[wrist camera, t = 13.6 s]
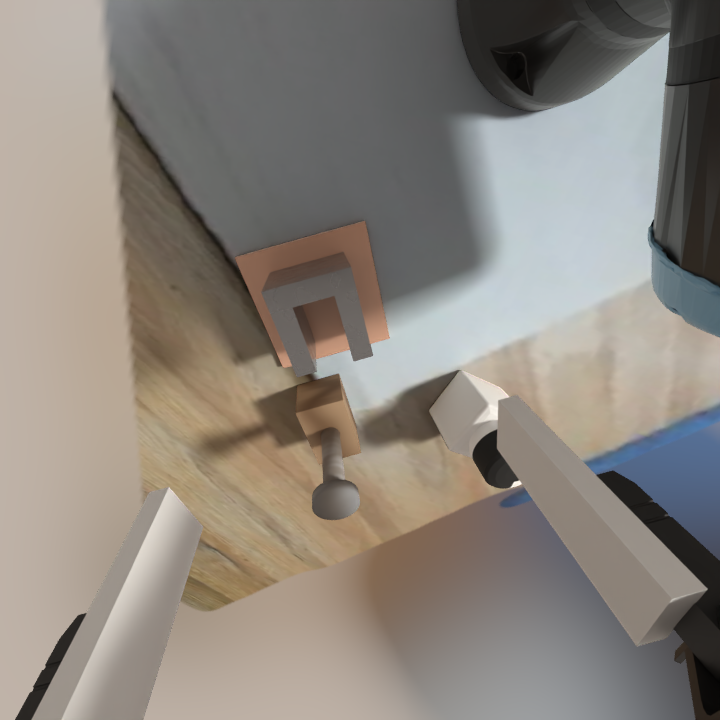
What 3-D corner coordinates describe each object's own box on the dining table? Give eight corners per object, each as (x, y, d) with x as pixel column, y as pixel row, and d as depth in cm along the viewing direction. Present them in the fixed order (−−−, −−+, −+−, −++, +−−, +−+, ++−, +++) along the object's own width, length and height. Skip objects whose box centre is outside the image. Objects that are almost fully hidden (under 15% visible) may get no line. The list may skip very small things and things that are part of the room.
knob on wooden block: (339, 373, 35) (353, 466, 24) (355, 423, 39) (374, 523, 28) (297, 385, 35) (291, 484, 24) (318, 434, 39) (321, 538, 28)
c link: (269, 272, 28) (261, 292, 23) (343, 251, 28) (351, 267, 23) (299, 346, 32) (296, 377, 27) (363, 328, 32) (373, 355, 27)
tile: (364, 220, 28) (365, 221, 27) (388, 336, 34) (389, 338, 33) (236, 256, 27) (234, 257, 27) (283, 365, 34) (283, 368, 33)
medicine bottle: (427, 410, 40) (467, 489, 30) (459, 368, 37) (516, 438, 27) (467, 425, 43) (518, 502, 32) (500, 386, 40) (567, 457, 30)
